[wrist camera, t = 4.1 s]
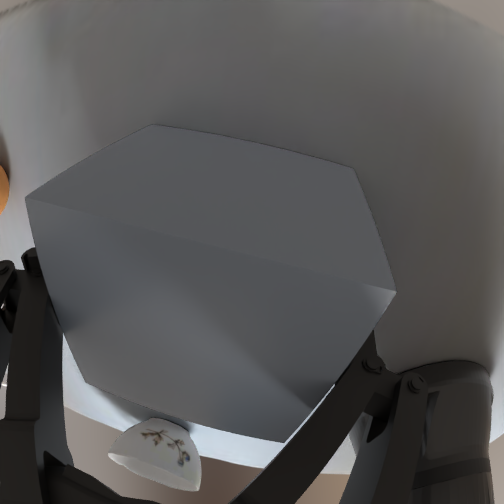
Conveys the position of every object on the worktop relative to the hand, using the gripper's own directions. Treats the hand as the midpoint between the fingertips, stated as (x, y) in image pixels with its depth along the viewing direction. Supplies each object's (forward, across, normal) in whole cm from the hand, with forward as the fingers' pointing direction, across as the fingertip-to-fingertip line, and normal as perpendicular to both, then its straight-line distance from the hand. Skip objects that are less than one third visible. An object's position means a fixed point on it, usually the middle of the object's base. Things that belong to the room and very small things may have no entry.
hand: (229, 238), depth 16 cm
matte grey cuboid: (+1, 0, 0) cm, 1 cm away
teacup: (+1, +5, +34) cm, 34 cm away
